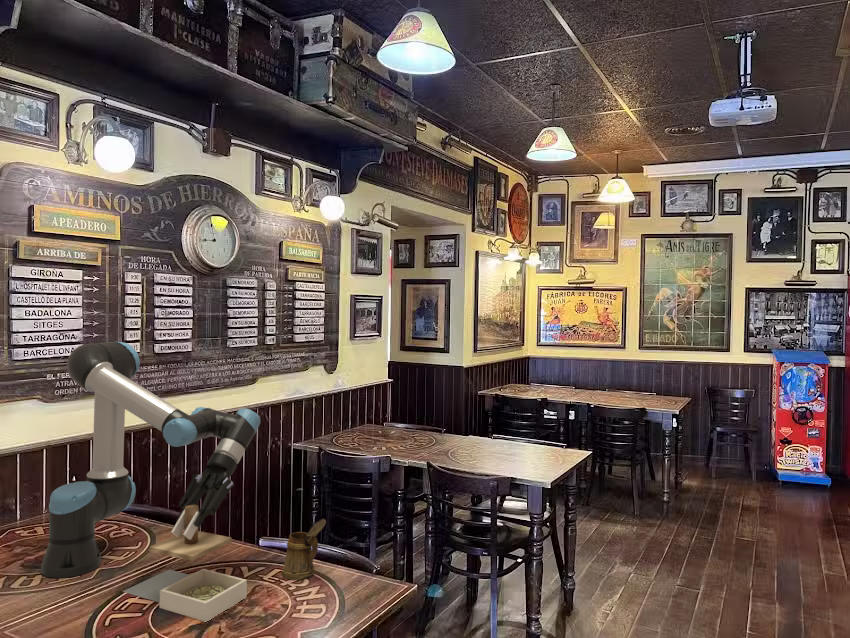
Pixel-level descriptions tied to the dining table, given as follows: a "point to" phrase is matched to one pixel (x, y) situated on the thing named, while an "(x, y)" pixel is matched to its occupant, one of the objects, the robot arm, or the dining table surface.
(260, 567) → the dining table surface
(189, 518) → the oak cover
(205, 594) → the decorated donut
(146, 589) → the rubber mat
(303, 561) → the wooden mug
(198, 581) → the wooden box
